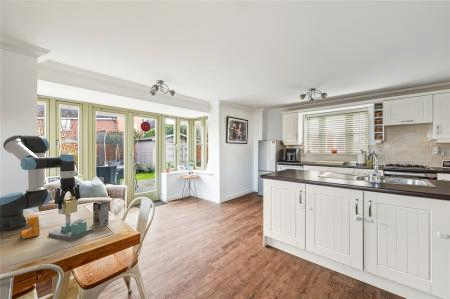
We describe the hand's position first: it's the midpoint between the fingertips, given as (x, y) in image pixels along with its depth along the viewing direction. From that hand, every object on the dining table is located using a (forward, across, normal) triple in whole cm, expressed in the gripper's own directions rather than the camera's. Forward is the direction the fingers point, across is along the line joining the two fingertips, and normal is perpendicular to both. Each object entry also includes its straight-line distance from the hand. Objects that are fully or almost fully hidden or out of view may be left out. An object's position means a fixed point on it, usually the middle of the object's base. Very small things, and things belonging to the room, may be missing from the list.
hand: (68, 212), depth 129 cm
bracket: (+14, -10, +19) cm, 26 cm away
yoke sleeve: (0, 0, 0) cm, 0 cm away
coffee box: (+14, +18, -7) cm, 24 cm away
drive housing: (+14, 0, -3) cm, 14 cm away
